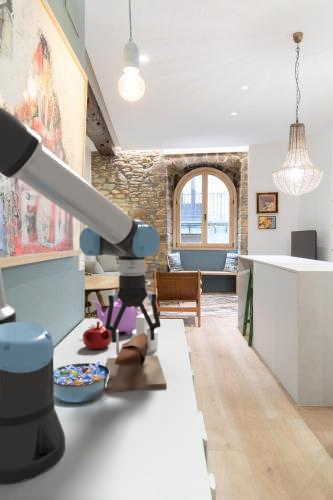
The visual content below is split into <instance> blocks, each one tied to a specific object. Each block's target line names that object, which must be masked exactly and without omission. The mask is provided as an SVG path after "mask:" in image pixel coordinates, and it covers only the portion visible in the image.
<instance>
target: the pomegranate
mask: <svg viewBox="0 0 333 500" xmlns="http://www.w3.org/2000/svg"><path fill="white" fill-rule="evenodd" d="M110 332H111V331H109V330H106V329H105V327H104V325H103V324H102V325H101V321H96V325H95V324H91V325H90V326H89V327H87V330H85V331H84V332H83V333H82V341H83V344H84V345H85V347H86V348H87V349H89V350H92V351H95V350H103V349H106V348H107V347H109V345H110V344H111V342H112V335H111V333H110Z"/></svg>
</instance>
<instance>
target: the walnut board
mask: <svg viewBox="0 0 333 500" xmlns="http://www.w3.org/2000/svg"><path fill="white" fill-rule="evenodd" d="M116 358H117V357H107V358H106V367H107V368H108V369H109V370H110V374H109V379H108V382H107V386H106V388H105V387H104V393H114V392H126V391H127V392H129V391H142V390H152V389H153V390H154V389H155V390H156V389H166V388H167V386H168V385H167V384H168V383H167V381H166V377H165V375H164V372H163V368H162V365H161V362H160V359H159V356H158V355H157V354H154V355H146V357H145V362H144V363H143V364H142V365H141V366H122V365H116V364H114V362H115V360H116Z"/></svg>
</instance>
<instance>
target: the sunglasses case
mask: <svg viewBox="0 0 333 500" xmlns="http://www.w3.org/2000/svg"><path fill="white" fill-rule="evenodd" d="M147 353H148V352H147V335H146V334H144V333H142V334H139V335H137V336H135V337H134V338H131V339H130V340H128V341H126V342H124V343H122V346H121V348H120V349H119V354H118V355H117V356H116V357H115V358H116V360H115V362H114V364H116V365H122V366H141V365H142V364H143V363H144V362H145V357H146V356H147Z"/></svg>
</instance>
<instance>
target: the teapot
mask: <svg viewBox="0 0 333 500" xmlns="http://www.w3.org/2000/svg"><path fill="white" fill-rule="evenodd" d="M92 302H93V303H94V304H95V306H96V313H97V317H98V320H99V322H100V323H101V322H102V326H103V325H104V326H103V328H105V326H106V320H107V315H108V309H109V306H108V307H107V309H106V310H105V312H103V311H102V305H101V303H100V302H99V301H97V300H92ZM121 305H122V301H121V300H120V299H119V298H117V299H116V301H115V302H114V306H113V312H112V317H111V323H110V325H113V324H114V321H115V319H116V317H117V315H118V312H119V310H120V308H121ZM137 308H140V307H139V306H138V307H134V306H132V307H126V309H125V311H124V313H123V316H122V318H121V320H120V322H119V325H118V327H117V329H116V330H119V333H125V335H127V336H130V335H131V336H132V331H133V330H135V329H136V317H137V316H139V315H140V314H142V311H141V310H140V313H139V311H138V309H137ZM109 331H110V330H109ZM110 333H111V336H112V332H111V331H110Z"/></svg>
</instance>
